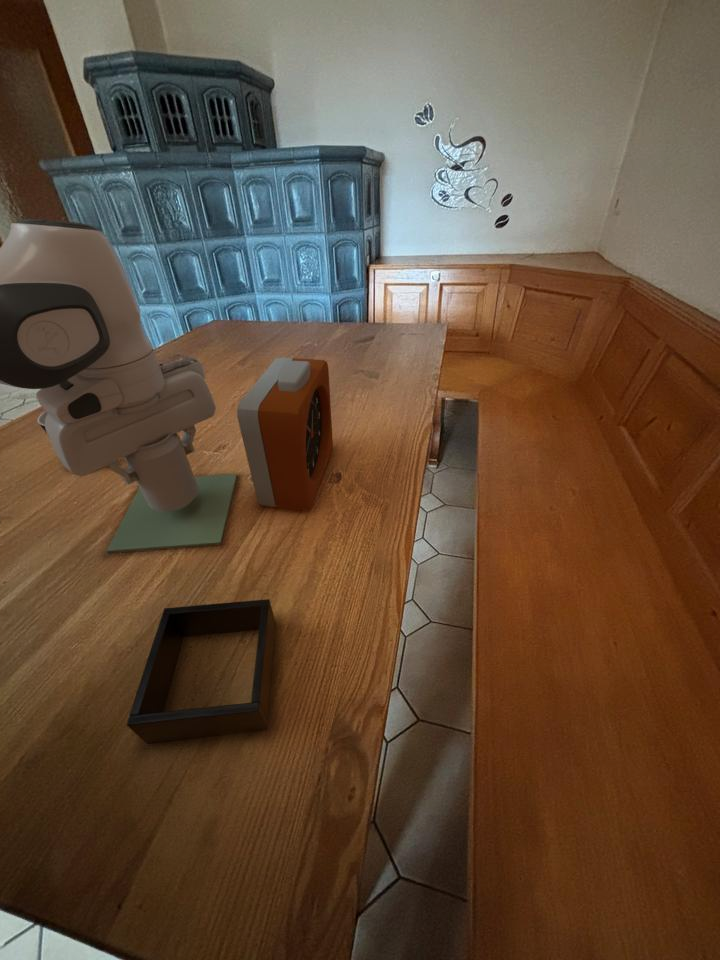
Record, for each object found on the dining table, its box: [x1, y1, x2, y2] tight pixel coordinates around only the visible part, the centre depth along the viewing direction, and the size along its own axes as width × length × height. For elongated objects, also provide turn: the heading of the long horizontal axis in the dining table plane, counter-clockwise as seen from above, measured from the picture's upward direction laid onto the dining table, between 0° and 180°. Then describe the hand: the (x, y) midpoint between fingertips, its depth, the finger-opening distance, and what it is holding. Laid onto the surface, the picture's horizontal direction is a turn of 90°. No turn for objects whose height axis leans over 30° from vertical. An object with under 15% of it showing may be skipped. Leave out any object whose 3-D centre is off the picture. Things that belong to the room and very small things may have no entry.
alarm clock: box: [236, 356, 334, 511], centre depth 62 cm, size 18×9×21 cm, turn 171°
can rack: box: [126, 598, 277, 744], centre depth 40 cm, size 12×12×5 cm
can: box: [124, 433, 198, 512], centre depth 56 cm, size 8×8×12 cm
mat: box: [106, 473, 238, 554], centre depth 61 cm, size 16×16×1 cm
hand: (160, 466), depth 56 cm, fingers closed on can, 7 cm apart
